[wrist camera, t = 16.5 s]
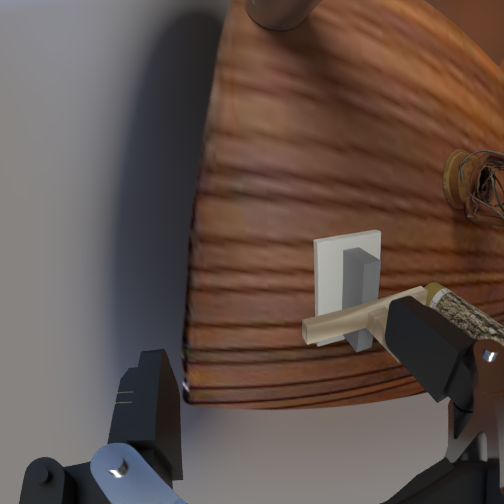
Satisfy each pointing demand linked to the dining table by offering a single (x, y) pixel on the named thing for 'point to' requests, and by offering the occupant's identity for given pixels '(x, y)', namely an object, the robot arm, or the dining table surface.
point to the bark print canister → (463, 314)
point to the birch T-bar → (357, 319)
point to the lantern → (473, 184)
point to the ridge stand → (347, 278)
